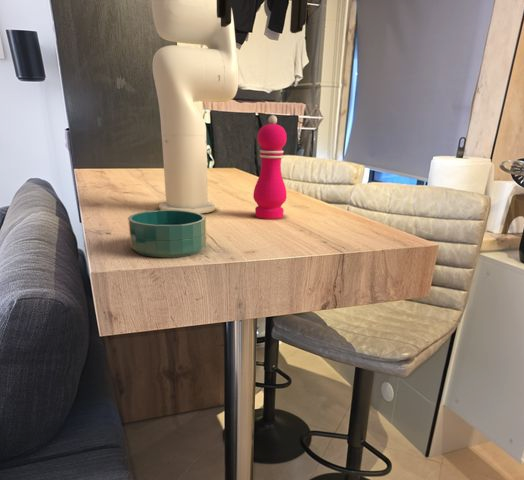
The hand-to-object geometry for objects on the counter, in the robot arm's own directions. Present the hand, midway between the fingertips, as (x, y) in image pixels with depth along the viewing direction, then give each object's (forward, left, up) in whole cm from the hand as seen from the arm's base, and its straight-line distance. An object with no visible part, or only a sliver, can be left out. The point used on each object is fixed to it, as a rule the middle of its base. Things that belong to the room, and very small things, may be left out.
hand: (261, 28), depth 60 cm
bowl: (-7, -13, -30) cm, 34 cm away
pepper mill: (-28, +13, -30) cm, 43 cm away
